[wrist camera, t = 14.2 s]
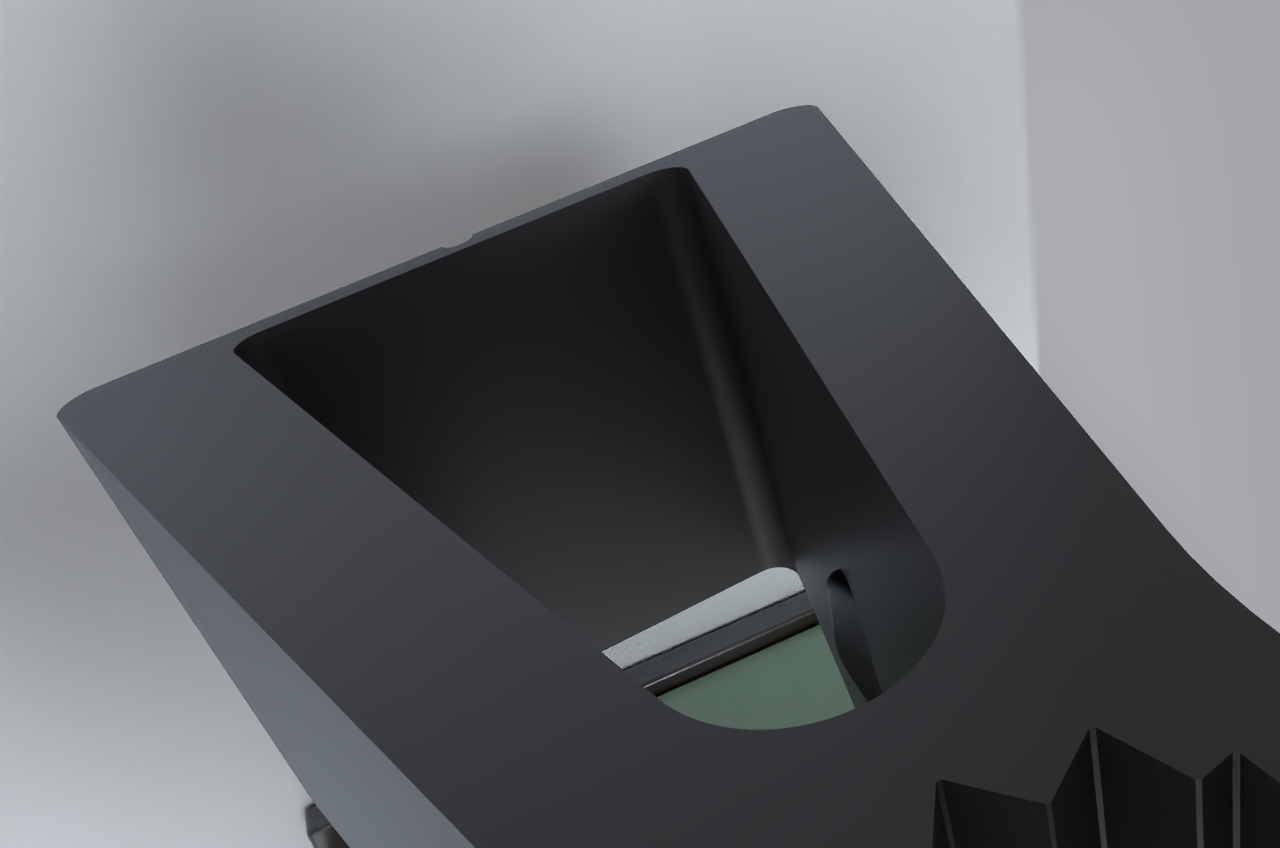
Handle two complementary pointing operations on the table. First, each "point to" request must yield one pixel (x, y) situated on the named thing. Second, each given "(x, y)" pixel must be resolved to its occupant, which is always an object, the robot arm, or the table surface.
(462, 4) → the table surface
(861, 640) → the robot arm
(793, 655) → the door
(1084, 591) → the phone stand
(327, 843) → the cabinet
